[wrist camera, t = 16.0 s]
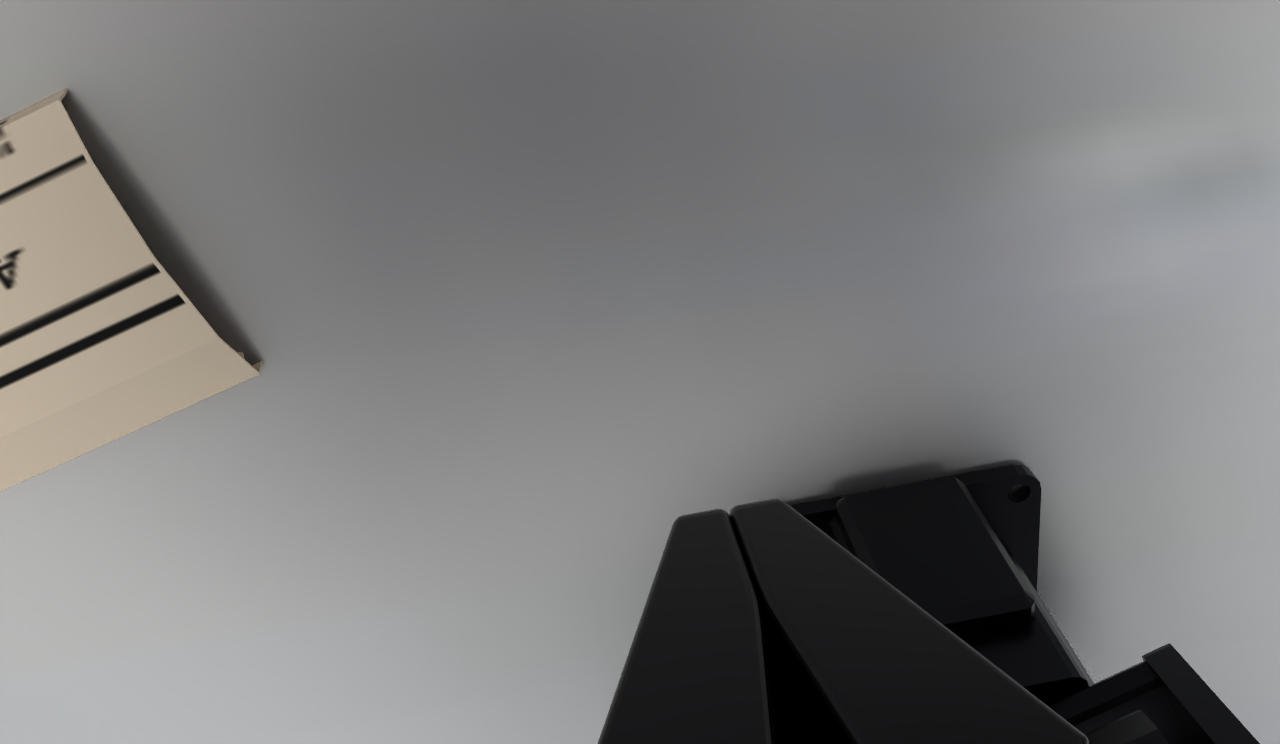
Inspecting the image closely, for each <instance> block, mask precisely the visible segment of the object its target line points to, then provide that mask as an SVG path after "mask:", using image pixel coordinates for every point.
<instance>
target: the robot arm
mask: <svg viewBox="0 0 1280 744" xmlns="http://www.w3.org/2000/svg"><path fill="white" fill-rule="evenodd" d="M1018 484H1022V486H1021V487H1020V488H1019V489H1018V490H1016V491H1013V492H1009V490H1010V489H1011V488H1012V487H1013V486H1015V485H1018ZM1040 505H1041V486H1040V482H1039V481H1038V479H1037V478H1036V477H1035V475H1034V474H1033V472H1032V471H1031V470H1030V469H1029V468H1028V467H1026V466H1023V465H1008V466H1003V467H998V468H992V469H987V470H981V471H976V472H970V473H965V474H960V475H954V476H949V477H943V478H938V479H933V480H927V481H922V482H916V483H911V484H905V485H900V486H895V487H889V488H884V489H878V490H873V491H868V492H862V493H857V494H851V495H846V496H841V497H835V498H830V499H824V500H819V501H813V502H808V503H803V504H797V505H792V506H790V505H788V504H787V503H786V502H784V501H782V500H779V499H770V500H764V501H759V502H753V503H748V504H743V505H737V506H735V507H733V508H732V509H731V511H730V514H728V513H727V512H726V511H724V510H722V509H716V510H710V511H705V512H699V513H694V514H688V515H683V516H680V517H678V518H677V519H676V520H675V522H674V524H673V526H672V529H671V532H670V534H669V537H668V540H667V543H666V546H665V549H664V552H663V555H662V558H661V561H660V564H659V566H658V569H657V572H656V575H655V578H654V581H653V584H652V587H651V590H650V593H649V596H648V599H647V601H646V604H645V607H644V610H643V613H642V616H641V619H640V622H639V625H638V628H637V631H636V633H635V636H634V639H633V642H632V645H631V648H630V651H629V654H628V657H627V660H626V663H625V666H624V668H623V671H622V674H621V677H620V680H619V683H618V686H617V689H616V692H615V695H614V698H613V700H612V703H611V706H610V709H609V712H608V715H607V718H606V721H605V724H604V727H603V730H602V733H601V735H600V738H599V741H598V744H1260V743H1259V742H1258V741H1257V740H1256V739H1255V738H1254V737H1253V736H1252V735H1251V733H1250V732H1249V731H1248V730H1247V729H1246V728H1245V727H1244V726H1243V724H1242V723H1241V722H1240V721H1239V720H1238V719H1237V718H1236V717H1235V716H1234V714H1233V713H1232V712H1231V711H1230V710H1229V709H1228V708H1227V707H1226V706H1225V704H1224V703H1223V702H1222V701H1221V700H1220V699H1219V698H1218V697H1217V695H1216V694H1215V693H1214V692H1213V691H1212V690H1211V689H1210V688H1209V687H1208V685H1207V684H1206V683H1205V682H1204V681H1203V680H1202V679H1201V678H1200V676H1199V675H1198V674H1197V673H1196V672H1195V671H1194V670H1193V669H1192V668H1191V666H1190V665H1189V664H1188V663H1187V662H1186V661H1185V660H1184V659H1183V658H1182V656H1181V655H1180V654H1179V653H1178V652H1177V651H1176V650H1175V649H1174V647H1173V646H1172V645H1171V644H1170V643H1169V644H1167V645H1165V646H1162V647H1160V648H1158V649H1156V650H1154V651H1152V652H1149V653H1147V654H1145V655H1143V656H1142V658H1143V660H1144V661H1143V662H1141V663H1139V664H1137V665H1134V666H1132V667H1130V668H1128V669H1126V670H1124V671H1121V672H1119V673H1117V674H1115V675H1113V676H1111V677H1108V678H1106V679H1104V680H1102V681H1100V682H1098V683H1095V684H1094V683H1093V681H1092V679H1091V678H1090V676H1089V675H1088V673H1087V671H1086V670H1085V668H1084V667H1083V665H1082V663H1081V662H1080V660H1079V659H1078V657H1077V656H1076V654H1075V652H1074V651H1073V649H1072V648H1071V646H1070V644H1069V643H1068V641H1067V640H1066V638H1065V636H1064V635H1063V633H1062V632H1061V630H1060V629H1059V627H1058V625H1057V624H1056V622H1055V621H1054V619H1053V617H1052V616H1051V614H1050V613H1049V611H1048V609H1047V608H1046V606H1045V605H1044V603H1043V602H1042V600H1041V598H1040V597H1039V595H1038V594H1037V592H1036V590H1037V568H1038V547H1039V526H1040Z"/></svg>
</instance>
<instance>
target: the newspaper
mask: <svg viewBox="0 0 1280 744" xmlns="http://www.w3.org/2000/svg"><path fill="white" fill-rule="evenodd" d="M67 92H68V90H67V88H66V89H64V90H62V91H60V92H58V93H56V94H54V95H52V96H50V97H48V98H46V99H44V100H42V101H40V102H38V103H36V104H34V105H32V106H30V107H28V108H26V109H24V110H22V111H20V112H18V113H16V114H14V115H12V116H10V117H8V118H6V119H4V120H1V121H0V492H1V491H3V490H5V489H7V488H9V487H12V486H14V485H16V484H18V483H20V482H23V481H25V480H27V479H29V478H32V477H34V476H36V475H38V474H40V473H43V472H45V471H47V470H49V469H51V468H54V467H56V466H58V465H60V464H63V463H65V462H67V461H69V460H71V459H74V458H76V457H78V456H80V455H83V454H85V453H87V452H89V451H91V450H94V449H96V448H98V447H100V446H102V445H105V444H107V443H109V442H111V441H114V440H116V439H118V438H120V437H122V436H125V435H127V434H129V433H131V432H133V431H136V430H138V429H140V428H142V427H145V426H147V425H149V424H151V423H153V422H156V421H158V420H160V419H162V418H164V417H167V416H169V415H171V414H173V413H176V412H178V411H180V410H182V409H184V408H187V407H189V406H191V405H193V404H195V403H198V402H200V401H202V400H204V399H207V398H209V397H211V396H213V395H215V394H218V393H220V392H222V391H224V390H226V389H229V388H231V387H233V386H235V385H238V384H240V383H242V382H244V381H246V380H249V379H251V378H253V377H255V376H257V375H260V373H261V368H262V364H263V362H262V361H260V362H258V363H256V364H254V365H250V364H249V363H248V362H247V361H246V360H245V359H244V355H243V353H242V352H236V351H235V350H234V349H233V348H231V347H230V346H229V345H228V344H227V343H226V342H225V341H224V340H222V339H221V338H220V337H219V336H218V335H217V333H216V332H215V331H214V330H213V328H212V327H211V326H210V325H209V323H208V322H207V321H206V320H205V318H204V317H203V316H202V315H201V314H200V312H199V311H198V310H197V309H196V307H195V306H194V305H193V304H192V302H191V301H190V300H189V299H188V297H187V296H186V295H185V294H184V292H183V291H182V290H181V289H180V287H179V286H178V285H177V284H176V282H175V281H174V280H173V279H172V277H171V276H170V275H169V274H168V273H167V271H166V270H165V269H164V268H163V266H162V265H161V264H160V263H159V261H158V260H157V259H156V258H155V256H154V255H153V253H152V252H151V250H150V249H149V247H148V246H147V244H146V243H145V241H144V239H143V238H142V236H141V235H140V233H139V232H138V230H137V229H136V227H135V226H134V224H133V222H132V221H131V219H130V218H129V216H128V215H127V213H126V212H125V210H124V209H123V207H122V205H121V204H120V202H119V201H118V199H117V198H116V196H115V195H114V193H113V192H112V190H111V189H110V187H109V185H108V184H107V182H106V181H105V179H104V178H103V176H102V175H101V173H100V172H99V170H98V168H97V167H96V165H95V164H94V162H93V160H92V159H91V157H90V155H89V153H88V151H87V149H86V147H85V145H84V144H83V142H82V140H81V138H80V136H79V134H78V132H77V130H76V128H75V127H74V125H73V123H72V121H71V119H70V117H69V115H68V111H67V110H65V108H64V106H63V104H62V102H61V101H62V99H63V98H64V96H65V95H66V93H67Z"/></svg>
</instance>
